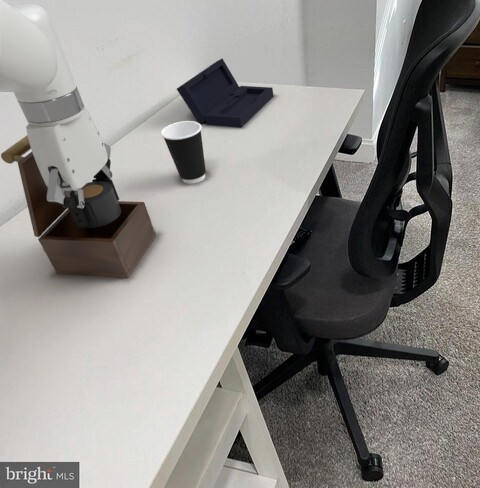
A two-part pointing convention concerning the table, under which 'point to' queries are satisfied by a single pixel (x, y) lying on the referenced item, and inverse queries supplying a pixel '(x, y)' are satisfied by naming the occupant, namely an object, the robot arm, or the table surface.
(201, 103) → the storage box
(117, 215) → the tape
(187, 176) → the dixie cup
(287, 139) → the table surface
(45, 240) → the chest
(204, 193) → the table surface
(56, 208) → the lid
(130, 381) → the table surface
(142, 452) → the table surface
